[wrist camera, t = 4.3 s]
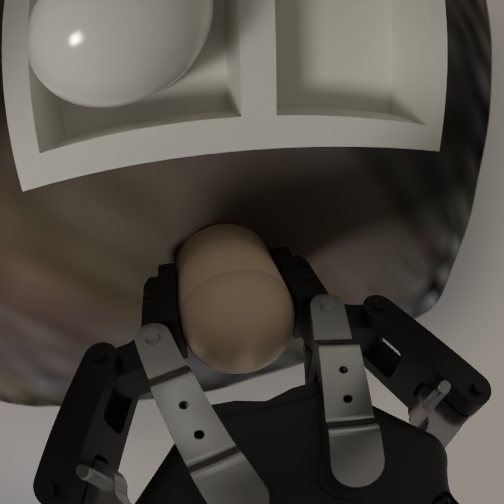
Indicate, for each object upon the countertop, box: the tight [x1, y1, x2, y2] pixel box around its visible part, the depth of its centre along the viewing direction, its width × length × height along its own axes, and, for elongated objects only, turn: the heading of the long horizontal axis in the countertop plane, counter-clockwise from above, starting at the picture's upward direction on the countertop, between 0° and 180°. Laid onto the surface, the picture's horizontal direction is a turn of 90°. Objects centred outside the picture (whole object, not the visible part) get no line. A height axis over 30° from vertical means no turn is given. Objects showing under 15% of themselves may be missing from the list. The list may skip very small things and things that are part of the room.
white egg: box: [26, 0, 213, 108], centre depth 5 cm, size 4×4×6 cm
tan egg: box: [176, 224, 295, 374], centre depth 12 cm, size 4×4×6 cm
